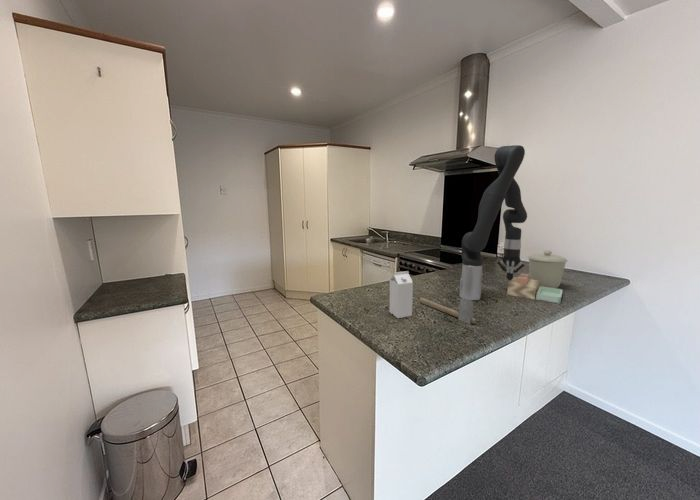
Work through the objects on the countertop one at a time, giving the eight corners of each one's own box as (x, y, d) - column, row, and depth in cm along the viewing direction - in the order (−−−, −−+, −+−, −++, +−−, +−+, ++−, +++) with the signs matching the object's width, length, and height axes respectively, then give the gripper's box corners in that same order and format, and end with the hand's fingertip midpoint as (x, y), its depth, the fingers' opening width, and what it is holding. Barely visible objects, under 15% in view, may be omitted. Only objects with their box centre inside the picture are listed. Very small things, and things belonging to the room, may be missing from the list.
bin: (535, 299, 133) (536, 293, 133) (539, 291, 145) (540, 286, 145) (560, 303, 127) (560, 297, 127) (561, 295, 139) (562, 289, 139)
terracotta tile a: (516, 283, 140) (517, 277, 140) (518, 281, 144) (518, 275, 143) (525, 284, 138) (526, 278, 137) (527, 282, 141) (527, 276, 141)
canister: (531, 280, 166) (534, 246, 163) (568, 287, 152) (572, 250, 149) (520, 286, 155) (523, 250, 151) (559, 293, 141) (563, 254, 138)
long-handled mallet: (421, 302, 133) (476, 324, 107) (418, 303, 131) (472, 326, 106) (422, 284, 131) (477, 301, 105) (418, 284, 130) (473, 302, 104)
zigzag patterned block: (507, 294, 141) (507, 283, 140) (512, 287, 153) (513, 277, 152) (534, 299, 133) (535, 287, 132) (538, 291, 145) (539, 280, 144)
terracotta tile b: (518, 280, 145) (519, 275, 144) (520, 278, 149) (520, 273, 148) (527, 281, 142) (528, 276, 142) (529, 279, 146) (529, 274, 146)
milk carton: (389, 312, 119) (389, 270, 116) (403, 310, 122) (404, 269, 119) (397, 318, 113) (398, 274, 110) (412, 316, 115) (413, 272, 112)
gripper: (496, 247, 143) (494, 279, 146) (526, 249, 135) (523, 283, 137) (499, 245, 149) (497, 276, 151) (528, 247, 140) (525, 280, 143)
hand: (509, 279), depth 144 cm, fingers closed
